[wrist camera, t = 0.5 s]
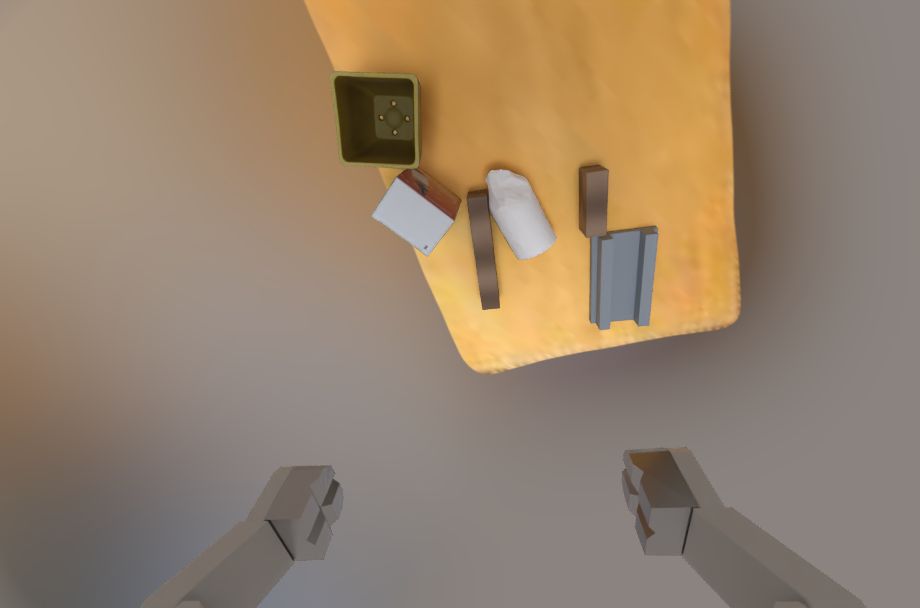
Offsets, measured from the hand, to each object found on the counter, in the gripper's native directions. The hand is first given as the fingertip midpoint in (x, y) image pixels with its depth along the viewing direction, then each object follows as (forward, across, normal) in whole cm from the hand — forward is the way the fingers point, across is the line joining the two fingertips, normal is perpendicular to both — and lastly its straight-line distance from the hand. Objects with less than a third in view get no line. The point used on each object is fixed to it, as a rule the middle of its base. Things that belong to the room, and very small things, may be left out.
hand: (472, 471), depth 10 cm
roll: (+44, -4, +3) cm, 44 cm away
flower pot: (+44, +10, -9) cm, 46 cm away
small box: (+44, +8, +1) cm, 45 cm away
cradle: (+44, -18, +16) cm, 50 cm away
